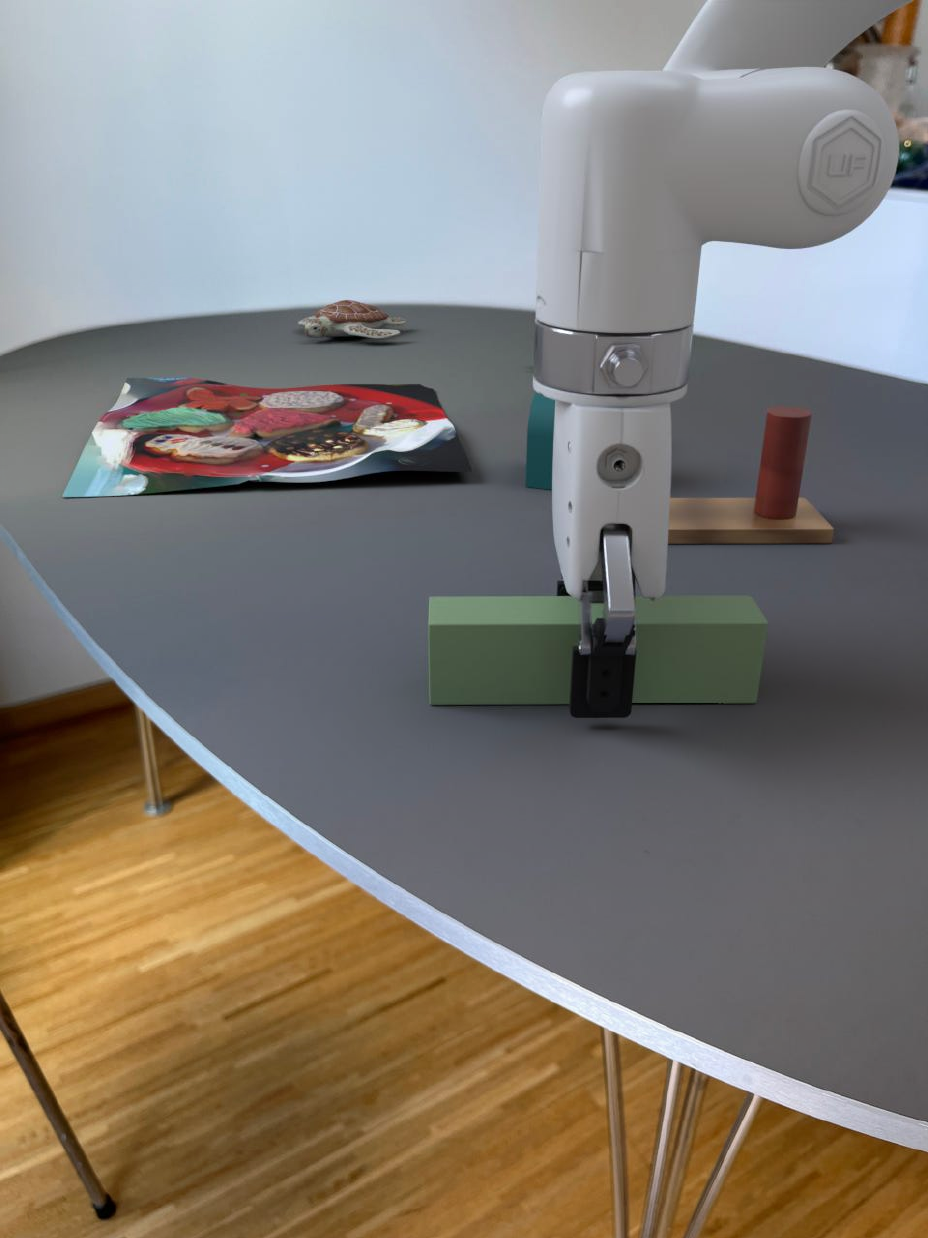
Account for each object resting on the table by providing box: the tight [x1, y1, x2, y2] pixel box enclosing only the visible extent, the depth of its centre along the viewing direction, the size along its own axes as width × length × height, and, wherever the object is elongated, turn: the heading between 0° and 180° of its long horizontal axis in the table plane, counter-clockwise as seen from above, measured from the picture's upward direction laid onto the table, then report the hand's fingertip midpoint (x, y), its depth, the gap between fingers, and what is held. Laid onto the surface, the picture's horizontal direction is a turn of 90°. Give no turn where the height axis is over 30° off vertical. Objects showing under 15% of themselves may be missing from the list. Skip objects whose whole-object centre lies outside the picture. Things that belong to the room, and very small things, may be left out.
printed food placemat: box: [61, 376, 473, 498], centre depth 103 cm, size 35×35×2 cm
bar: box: [427, 594, 769, 706], centre depth 57 cm, size 18×4×5 cm, turn 91°
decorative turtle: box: [297, 299, 407, 340], centre depth 147 cm, size 18×17×5 cm
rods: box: [668, 405, 835, 545], centre depth 79 cm, size 18×7×9 cm, turn 91°
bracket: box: [525, 391, 555, 491], centre depth 94 cm, size 18×7×8 cm, turn 161°
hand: (590, 675), depth 58 cm, fingers open, 7 cm apart
